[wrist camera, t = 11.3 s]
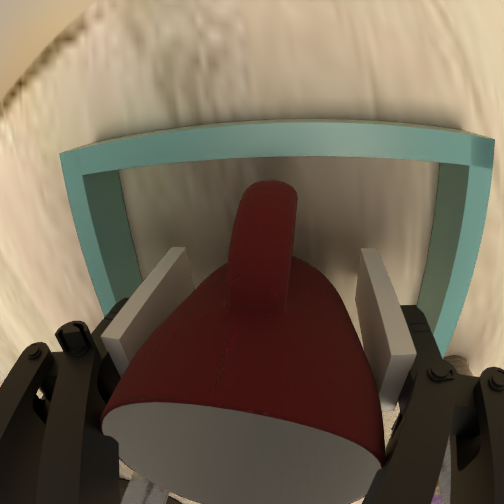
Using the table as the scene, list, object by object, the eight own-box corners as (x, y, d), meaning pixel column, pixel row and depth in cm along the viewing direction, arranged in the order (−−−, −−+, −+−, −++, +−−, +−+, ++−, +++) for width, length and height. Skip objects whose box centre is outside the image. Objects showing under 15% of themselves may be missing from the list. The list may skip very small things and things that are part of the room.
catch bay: (144, 338, 20) (126, 368, 18) (95, 142, 14) (59, 153, 12) (421, 348, 17) (432, 383, 15) (462, 129, 11) (494, 139, 9)
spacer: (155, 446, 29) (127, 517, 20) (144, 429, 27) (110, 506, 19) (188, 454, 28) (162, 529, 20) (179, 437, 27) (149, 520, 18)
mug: (174, 164, 14) (0, 278, 5) (358, 151, 12) (472, 277, 3) (212, 344, 18) (155, 495, 9) (350, 345, 17) (358, 516, 8)
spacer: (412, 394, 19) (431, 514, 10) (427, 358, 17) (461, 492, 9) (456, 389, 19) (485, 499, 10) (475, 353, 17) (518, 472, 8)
